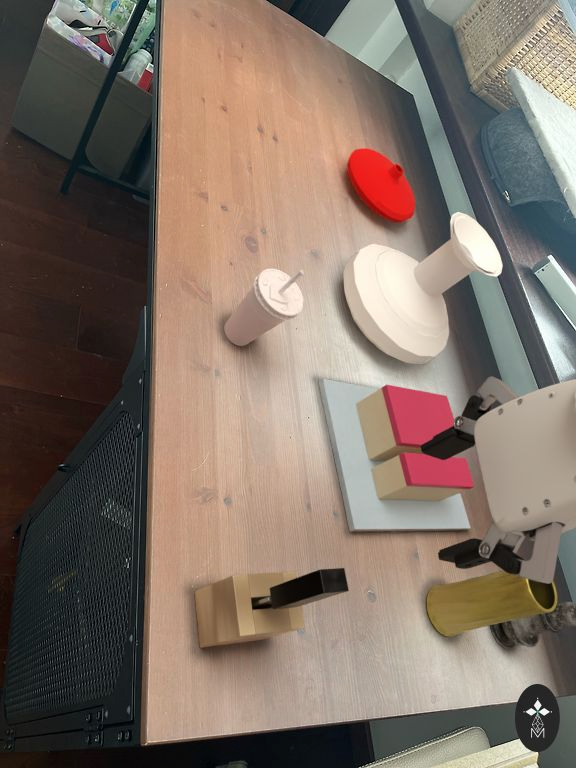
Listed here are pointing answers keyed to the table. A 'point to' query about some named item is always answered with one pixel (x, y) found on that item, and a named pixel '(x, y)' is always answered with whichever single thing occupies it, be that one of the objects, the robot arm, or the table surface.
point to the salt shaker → (534, 626)
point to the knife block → (243, 610)
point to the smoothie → (265, 306)
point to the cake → (401, 420)
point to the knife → (305, 589)
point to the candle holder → (414, 290)
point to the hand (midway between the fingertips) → (440, 503)
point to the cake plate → (358, 477)
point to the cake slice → (421, 477)
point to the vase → (487, 602)
